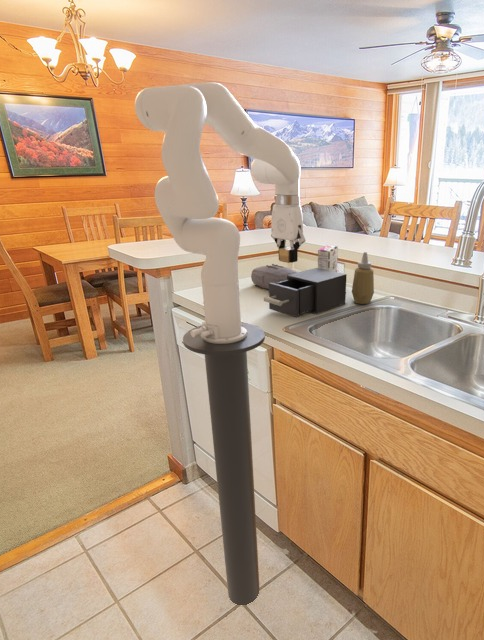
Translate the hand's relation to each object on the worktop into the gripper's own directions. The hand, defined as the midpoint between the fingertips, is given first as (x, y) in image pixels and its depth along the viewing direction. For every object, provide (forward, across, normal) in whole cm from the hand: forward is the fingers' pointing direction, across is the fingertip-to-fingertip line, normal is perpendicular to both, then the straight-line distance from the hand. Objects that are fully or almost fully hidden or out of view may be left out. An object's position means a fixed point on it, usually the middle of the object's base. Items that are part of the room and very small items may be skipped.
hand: (288, 260), depth 141 cm
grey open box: (+17, +2, +12) cm, 21 cm away
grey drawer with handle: (+16, +2, 0) cm, 16 cm away
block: (0, 0, 0) cm, 0 cm away
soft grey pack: (+18, -25, +20) cm, 36 cm away
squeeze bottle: (+18, +12, +26) cm, 34 cm away
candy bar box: (+18, -8, +30) cm, 36 cm away
